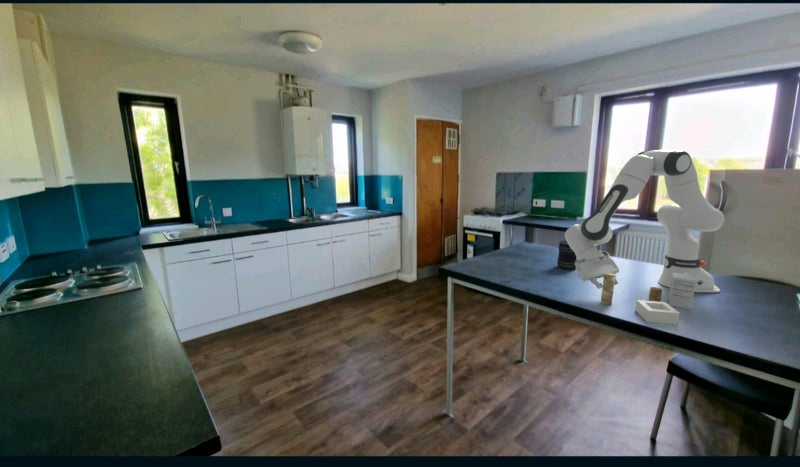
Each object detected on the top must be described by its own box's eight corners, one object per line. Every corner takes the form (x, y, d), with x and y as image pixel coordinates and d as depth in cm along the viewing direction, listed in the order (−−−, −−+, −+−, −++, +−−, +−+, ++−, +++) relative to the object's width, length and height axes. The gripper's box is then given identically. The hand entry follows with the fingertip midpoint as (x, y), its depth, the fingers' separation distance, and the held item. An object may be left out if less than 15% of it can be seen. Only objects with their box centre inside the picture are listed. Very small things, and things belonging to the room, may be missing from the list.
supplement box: (667, 299, 142) (672, 272, 139) (690, 303, 137) (695, 275, 135) (667, 305, 137) (672, 276, 134) (691, 310, 132) (696, 280, 129)
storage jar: (553, 266, 188) (555, 241, 185) (564, 264, 192) (566, 239, 189) (568, 271, 179) (571, 245, 176) (580, 268, 184) (582, 243, 181)
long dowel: (609, 301, 141) (613, 273, 138) (613, 305, 137) (616, 276, 134) (599, 300, 142) (602, 272, 139) (602, 304, 138) (606, 275, 135)
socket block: (663, 312, 130) (665, 302, 129) (677, 324, 120) (679, 313, 120) (635, 310, 132) (636, 299, 131) (646, 321, 123) (648, 310, 122)
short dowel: (657, 302, 139) (659, 287, 137) (661, 306, 135) (664, 291, 134) (646, 302, 140) (648, 286, 138) (650, 305, 136) (653, 290, 135)
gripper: (578, 257, 138) (597, 286, 131) (610, 251, 146) (630, 279, 139) (568, 264, 143) (585, 293, 136) (600, 258, 151) (618, 285, 144)
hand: (608, 286), depth 138 cm, fingers open, 8 cm apart
